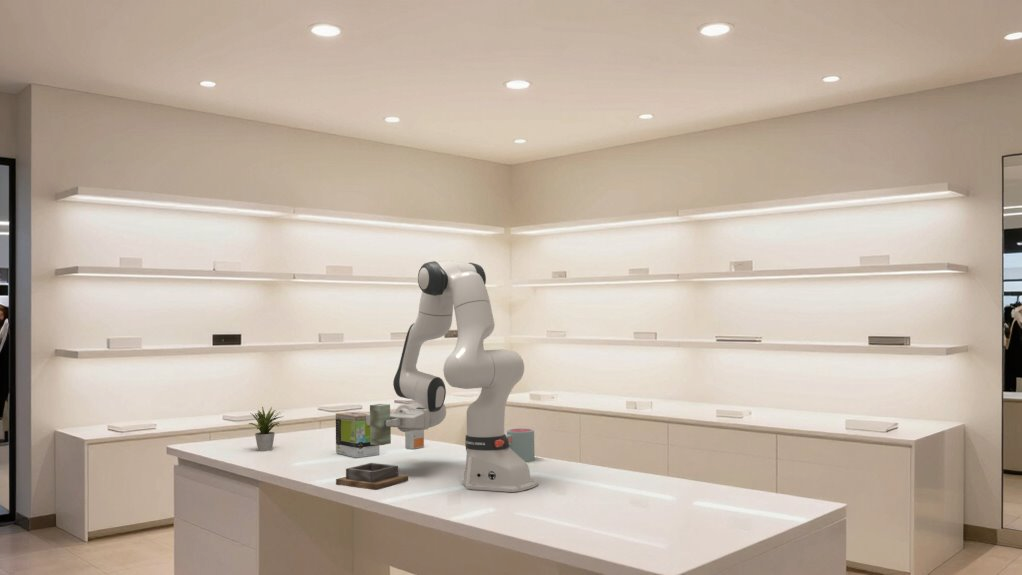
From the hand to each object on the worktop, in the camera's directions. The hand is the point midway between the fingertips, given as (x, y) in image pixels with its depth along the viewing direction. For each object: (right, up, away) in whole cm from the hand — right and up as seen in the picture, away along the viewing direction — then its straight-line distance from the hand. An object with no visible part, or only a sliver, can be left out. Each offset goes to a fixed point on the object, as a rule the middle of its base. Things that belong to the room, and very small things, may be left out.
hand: (378, 423), depth 257 cm
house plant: (-51, -19, +55) cm, 77 cm away
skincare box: (+5, -18, +54) cm, 57 cm away
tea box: (-14, -18, +43) cm, 49 cm away
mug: (+43, -17, +24) cm, 52 cm away
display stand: (-1, -17, -8) cm, 18 cm away
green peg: (+1, -7, +1) cm, 7 cm away
